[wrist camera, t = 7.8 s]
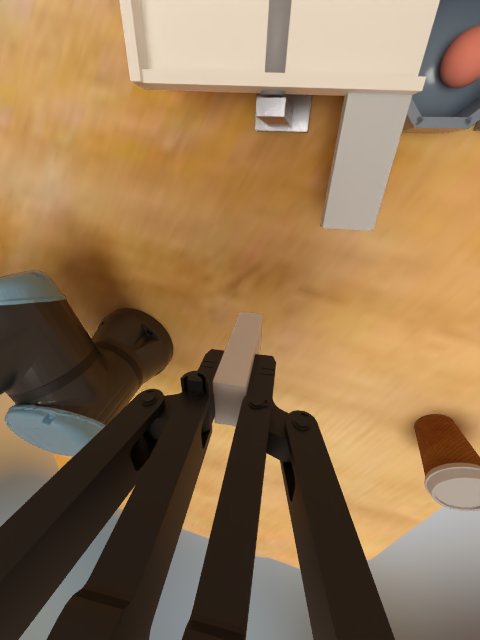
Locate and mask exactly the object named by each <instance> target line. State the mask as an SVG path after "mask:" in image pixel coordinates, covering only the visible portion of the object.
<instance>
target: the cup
mask: <svg viewBox="0 0 480 640" xmlns="http://www.w3.org/2000/svg"><path fill="white" fill-rule="evenodd" d="M477 25H480V0H440V2H439V5H438V9H437V12H436V16H435V19H434V23H433V26H432V29H431V33H430V36H429V40H428V43H427V47H426V50H425V54H424V57H423V60H422V64H421V67H420V71H419V74H418V76H423V77H426V80H425V83H424V86H423V89H422V91H421V92H418V93H416V94H413V95H412V98H411V102H410V105H409V109H408V112H407V116H406V119H405V123H404V126H403V129H402V132H405V133H447V132H453V131H458V130H463V129H468V128H469V127H471V126H472V125H473V124H475V123H476V122H477V123H476V125H475V128H474V130H473V131H480V78H479V79H478V80H476V81H475V82H473V83H471V84H470V85H467V86H465V87H461V88H452V87H448V86H447V85H445V84H444V83H443V81H442V79H441V77H440V64H441V61H442V58H443V55H444V53H445V51H446V50H447V48H448V47H449V45H450V44H451V43H452V42H453V40H454V39H455V38H456V37H457V36H459V35H460V34H461V33H462V32H464V31H465V30H467V29H469V28H471V27H474V26H477Z"/></svg>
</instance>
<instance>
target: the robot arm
mask: <svg viewBox="0 0 480 640" xmlns="http://www.w3.org/2000/svg"><path fill="white" fill-rule="evenodd" d="M66 299H67V298H66V296H64V295H63V294H62V293H61V292H60V290H59V289H58V287H57V286H56V285H55V283H54V282H53V280H52V279H51V278H50V277H49V276H48V275H47V274H45V273H43V272H41V271H35V270H32V271H25V272H20V273H16V274H11V275H7V276H3V277H0V394H2V393H4V392H6V393H7V394H8V395H9V397H11V399H12V400H13V401H14V402H15V404H16V405H14V406H12V407H11V408H10V409H9V411H8V412H7V414H6V415H5V421H6V422H7V426H8V427H9V428H10V429H11V430H12V431H13V432H14V433H15V434H16V435H18V436H19V437H21V438H22V439H24V440H26V441H27V442H29V443H31V444H32V445H34V446H37V447H39V448H41V449H44V450H46V451H49V452H52V453H56V454H60V455H65V456H74V457H73V458H72V459H71V460H69V461H68V462H67V463H66V464H65V465H64V466H63V467H62V468H61V469H60V470H59V471H58V472H57V473H56V474H55V475H54V476H53V477H52V478H51V479H50V480H49V481H48V482H47V483H46V484H45V485H43V487H41V488H40V489H39V490H38V491H37V492H36V493H35V494H34V495H33V496H32V497H31V498H30V499H29V500H28V501H27V502H26V503H25V504H24V505H23V506H22V507H21V508H20V509H19V510H18V511H16V513H14V515H12V516H11V517H10V518H9V519H8V520H7V521H6V522H5V523H4V524H3V525H2V526H1V527H0V640H18V639H19V638H20V637H21V635H22V634H23V633H24V631H25V630H26V629H27V628H28V626H29V625H30V623H31V622H32V621H33V620H34V618H35V617H36V615H37V614H38V613H39V612H40V610H41V609H42V608H43V606H44V605H45V604H46V602H47V601H48V600H49V598H50V597H51V596H52V594H53V593H54V592H55V590H56V589H57V588H58V587H59V585H60V584H61V583H62V581H63V580H64V578H65V577H66V576H67V574H68V573H69V572H70V571H71V569H72V568H73V567H74V565H75V564H76V563H77V561H78V560H79V559H80V557H81V556H82V555H83V553H84V552H85V551H86V550H87V548H88V547H89V545H90V544H91V543H92V541H93V540H94V539H95V538H96V536H97V535H98V534H99V532H100V531H101V530H102V528H103V527H104V526H105V524H106V523H107V522H108V520H109V519H110V518H111V516H112V515H113V514H114V512H115V511H116V510H117V509H118V507H119V506H120V505H121V503H122V502H123V501H124V499H125V498H126V497H127V495H128V494H129V493H130V491H131V490H132V489H133V487H134V486H135V487H134V489H133V491H132V493H131V495H130V497H129V499H128V501H127V503H126V505H125V507H124V509H123V511H122V514H121V515H120V518H119V519H118V522H117V523H116V525H115V528H114V529H113V532H112V533H111V536H110V538H109V540H108V541H107V543H106V545H105V548H104V549H103V552H102V554H101V555H100V558H99V560H98V562H97V564H96V566H95V568H94V570H93V572H92V574H91V576H90V578H89V579H88V581H87V583H86V584H85V585H84V587H83V588H82V589H81V590H79V591H78V592H77V593H75V594H74V595H73V596H72V597H71V599H70V600H69V601H68V602H67V604H66V605H65V607H64V608H63V610H62V612H61V613H60V615H59V617H58V619H57V621H56V623H55V625H54V626H53V628H52V630H51V632H50V634H49V636H48V638H47V640H149V635H150V630H151V625H152V622H153V618H154V615H155V612H156V609H157V606H158V602H159V599H160V596H161V593H162V589H163V586H164V583H165V580H166V577H167V574H168V570H169V567H170V564H171V561H172V558H173V554H174V551H175V548H176V545H177V542H178V539H179V535H180V532H181V529H182V526H183V523H184V520H185V517H186V513H187V510H188V507H189V504H190V501H191V497H192V494H193V491H194V488H195V485H196V482H197V478H198V475H199V472H200V469H201V466H202V462H203V459H204V456H205V453H206V450H207V447H208V443H209V440H210V437H211V434H212V423H213V419H214V416H215V423H220V424H226V425H232V426H236V429H235V433H234V437H233V442H232V446H231V450H230V454H229V458H228V463H227V467H226V471H225V475H224V480H223V484H222V488H221V492H220V496H219V501H218V505H217V509H216V513H215V518H214V522H213V526H212V530H211V534H210V539H209V544H208V547H207V551H206V555H205V560H204V564H203V568H202V572H201V577H200V581H199V585H198V590H197V593H196V598H195V602H194V606H193V610H192V614H191V617H190V620H189V622H188V624H187V626H186V629H185V632H184V635H183V638H182V640H246V631H247V622H248V613H249V604H250V595H251V586H252V577H253V568H254V559H255V550H256V541H257V532H258V523H259V514H260V505H261V496H262V487H263V478H264V469H265V460H266V453H267V454H269V455H271V456H273V457H275V458H277V459H279V460H280V463H281V469H282V474H283V479H284V485H285V490H286V495H287V501H288V506H289V511H290V517H291V522H292V527H293V532H294V538H295V543H296V548H297V554H298V559H299V564H300V570H301V574H302V580H303V586H304V591H305V596H306V602H307V607H308V612H309V618H310V623H311V628H312V634H313V639H314V640H395V638H394V636H393V633H392V630H391V627H390V625H389V622H388V619H387V616H386V613H385V611H384V608H383V605H382V602H381V600H380V597H379V594H378V591H377V588H376V585H375V583H374V580H373V577H372V574H371V572H370V569H369V566H368V563H367V560H366V557H365V555H364V552H363V549H362V546H361V544H360V541H359V538H358V535H357V532H356V530H355V527H354V524H353V521H352V518H351V516H350V513H349V510H348V507H347V504H346V502H345V499H344V496H343V493H342V490H341V488H340V485H339V482H338V479H337V476H336V474H335V471H334V468H333V465H332V463H331V460H330V457H329V454H328V451H327V449H326V446H325V443H324V440H323V437H322V435H321V432H320V429H319V426H318V423H317V421H316V420H315V418H314V417H313V416H312V415H311V414H309V413H307V412H305V411H299V410H297V411H292V412H291V413H287V412H285V411H283V410H281V409H279V408H278V407H277V406H276V405H275V403H274V402H273V398H272V396H273V387H274V377H275V368H276V362H275V360H274V357H273V356H267V355H259V354H260V349H261V334H262V318H263V314H259V313H249V312H240V313H239V315H238V318H237V320H236V323H235V325H234V328H233V331H232V333H231V336H230V338H229V341H228V344H227V346H226V349H225V351H222V350H214V349H211V350H210V351H209V352H208V353H206V354H205V356H204V359H203V361H202V363H201V365H200V367H199V369H198V371H192V372H188V373H186V374H185V375H183V376H182V377H181V379H180V380H181V387H182V393H179V394H175V395H167V396H164V395H163V393H162V392H161V391H160V390H157V389H148V390H145V391H143V392H141V393H140V394H138V395H137V396H136V397H135V398H134V399H133V400H132V401H131V402H130V403H129V401H130V400H131V399H132V397H133V396H134V394H135V393H136V392H137V390H138V389H139V388H140V386H141V385H142V384H143V383H145V382H146V381H148V380H149V379H150V378H152V377H153V376H155V375H157V374H159V373H160V372H162V371H163V370H164V369H165V367H166V366H167V365H168V363H169V362H170V360H171V358H172V355H173V346H172V342H171V339H170V337H169V335H168V333H167V332H166V330H165V329H164V328H163V327H162V325H161V324H160V323H158V322H157V321H156V320H155V319H154V318H152V317H151V316H149V315H147V314H145V313H143V312H141V311H138V310H134V309H119V310H116V311H114V312H112V313H111V314H109V315H108V316H107V317H106V318H104V319H103V320H102V322H101V323H100V325H99V327H98V329H97V331H96V332H95V334H94V336H93V337H92V339H91V338H90V336H89V335H88V333H87V332H86V330H85V329H84V327H83V325H82V324H81V322H80V321H79V319H78V318H77V316H76V315H75V313H74V311H73V310H72V308H71V307H70V305H69V304H68V302H67V300H66ZM128 403H129V404H128ZM127 404H128V405H127ZM126 405H127V406H126Z"/></svg>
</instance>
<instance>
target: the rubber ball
mask: <svg viewBox="0 0 480 640" xmlns="http://www.w3.org/2000/svg"><path fill="white" fill-rule="evenodd" d="M440 77H441V79H442V81H443V83H444V84H445V85H447V86H448V87H452V88H461V87H465V86H467V85H470V84H471V83H473V82H475V81H476V80H478V79H479V78H480V25H477V26H474V27H471V28H469V29H467V30H465V31H464V32H462V33H461V34H460V35H459V36H457V37H456V38H455V39H454V40H453V42H452V43H451V44H450V45H449V47H448V48H447V50H446V51H445V53H444V55H443V58H442V61H441V64H440Z"/></svg>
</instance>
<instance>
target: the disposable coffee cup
mask: <svg viewBox="0 0 480 640" xmlns="http://www.w3.org/2000/svg"><path fill="white" fill-rule="evenodd" d="M414 427H415V432H416V436H417V441H418V445H419V450H420V454H421V459H422V464H423V468H424V472H425V483H424V484H425V488H426V490H427V491H428V493H430V494H431V496H432V497H433V499H434V500H435V501H436V502H437V503H439V504H440V505H442V506H444V507H447V508H450V509H455V510H461V511H479V510H480V457H479V455H478V454H477V453H476V451H475V450H474V449H473V447H472V446H471V445H470V443H469V442H468V441H467V439H466V438H465V437H464V435H463V434H462V433H461V431H460V430H459V429H458V427H457V426H456V424H455V423H454V422H453V420H452V419H450V418H449V417H446V416H443V415H428V416H425V417H422V418H420V419H419V420H417V422H416V423H415V426H414Z"/></svg>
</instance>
